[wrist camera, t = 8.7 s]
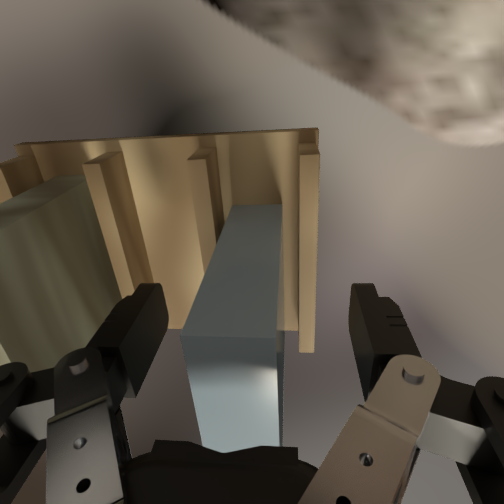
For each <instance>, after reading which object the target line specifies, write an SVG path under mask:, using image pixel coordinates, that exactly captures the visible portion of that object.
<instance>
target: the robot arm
mask: <svg viewBox="0 0 504 504" xmlns="http://www.w3.org/2000/svg"><path fill="white" fill-rule="evenodd" d="M168 324H169V314H168V309H167V305H166V300H165V296H164V292H163V287H162V285H161V284H160V283H140V284H139V285H138V287H137V288H136V290H135V291H134V293H133V294H132V295H127V296H126V297H125V298H123V299H122V300H120V301H119V302H118V303H117V304H116V305H115V306H114V308H113V309H112V310H111V312H110V314H109V315H108V316H107V317H106V319H105V322H103V323H102V324H101V326H100V327H99V329H98V330H97V331H96V333H95V334H94V336H93V337H92V338H91V340H90V341H89V343H88V344H87V345H86V347H85V348H80V349H76V350H74V351H72V352H70V353H68V354H66V355H65V356H64V357H62V358H61V359H60V360H59V361H58V363H57V364H56V366H55V367H54V368H49V369H45V370H40V371H36V372H31V373H30V371H29V369H28V367H27V365H26V364H24V363H22V362H11V363H7V364H4V365H1V366H0V429H1V431H2V432H3V436H2V437H1V438H0V504H11V503H12V501H13V499H14V498H15V496H16V495H17V493H18V492H19V490H20V489H21V487H22V485H23V484H24V482H25V481H26V479H27V478H28V476H29V475H30V473H31V471H32V470H33V468H34V467H35V465H36V463H37V462H38V460H39V459H40V457H41V456H42V454H43V453H44V451H45V449H46V448H47V449H46V453H47V454H46V455H47V457H46V504H401V502H402V499H403V497H404V494H405V491H406V488H407V486H408V483H409V480H410V478H411V475H412V472H413V470H414V467H415V465H416V462H417V459H418V457H419V454H420V451H421V449H423V450H426V451H429V452H431V453H434V454H437V455H440V456H443V457H446V458H448V459H451V460H454V461H455V462H456V464H457V466H458V469H459V471H460V473H461V476H462V478H463V480H464V483H465V485H466V487H467V490H468V492H469V495H470V497H471V499H472V502H473V504H504V378H500V377H493V376H492V377H484V378H482V379H480V380H479V381H478V382H477V383H476V385H475V386H472V385H468V384H464V383H460V382H457V381H453V380H450V379H447V378H445V377H443V376H441V375H440V374H439V372H438V370H437V369H436V368H435V367H434V366H433V365H432V364H431V363H430V362H428V361H426V360H425V359H422V357H421V355H420V352H419V350H418V348H417V346H416V343H415V341H414V339H413V337H412V335H411V332H410V330H409V328H408V327H407V323H406V321H405V319H404V318H403V314H402V312H401V310H400V308H399V306H398V305H397V304H396V303H395V302H394V301H393V300H392V299H390V298H389V297H378V294H377V291H376V288H375V286H374V284H373V283H362V284H360V283H359V284H357V283H354V284H352V286H351V296H350V307H349V332H350V337H351V341H352V346H353V351H354V355H355V360H356V364H357V369H358V373H359V378H360V382H361V387H362V391H363V396H364V400H365V404H364V405H363V406H362V405H358V406H357V407H356V408H355V409H354V411H353V412H352V414H351V416H350V417H349V419H348V421H347V422H346V424H345V426H344V427H343V429H342V431H341V432H340V434H339V436H338V437H337V439H336V441H335V442H334V444H333V446H332V448H331V449H330V451H329V452H328V454H327V456H326V457H325V459H324V461H323V462H322V464H321V466H320V467H319V469H318V468H316V467H315V466H313V465H311V464H309V463H306V462H304V461H301V460H298V448H297V447H280V446H262V445H261V446H257V447H252V448H247V449H242V450H237V451H232V452H227V453H222V452H218V451H215V450H212V449H209V448H206V447H204V446H200V445H198V444H195V443H192V442H188V441H169V440H155V442H154V445H153V448H152V451H151V452H149V453H145V454H143V455H139V456H137V457H135V458H133V459H132V455H131V451H130V447H129V442H128V438H127V433H126V429H125V424H124V419H123V414H122V410H121V407H120V404H121V401H122V400H123V397H127V398H136V396H137V394H138V392H139V390H140V388H141V385H142V383H143V381H144V379H145V377H146V375H147V372H148V370H149V368H150V366H151V364H152V361H153V359H154V357H155V355H156V353H157V351H158V348H159V346H160V344H161V342H162V339H163V337H164V335H165V333H166V331H167V328H168Z"/></svg>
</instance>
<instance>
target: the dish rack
mask: <svg viewBox="0 0 504 504" xmlns="http://www.w3.org/2000/svg"><path fill="white" fill-rule="evenodd" d="M318 139H319V129H318V128H301V129H283V130H282V129H281V130H261V131H242V132H222V133H203V134H183V135H164V136H144V137H123V138H104V139H85V140H67V141H45V142H25V143H20V144H17V145H14V146H15V149H16V151H17V154H18V157H16V158H13V159H10V160H7V161H4V162H2V163H0V366H1V365H4V364H7V363H11V362H22V363H24V364H26V365H27V367H28V369H29V371H30V373H31V372H36V371H40V370H45V369H49V368H54V367H55V366H56V364H57V363H58V361H59V360H60V359H61V358H62V357H64V356H65V355H66V354H68V353H70V352H72V351H74V350H76V349H80V348H85V347H86V345H87V344H88V343H89V341H90V340H91V338H92V337H93V336H94V334H95V333H96V331H97V330H98V329H99V327H100V326H101V324H102V323H103V322H105V319H106V317H107V316H108V315H109V314H110V312H111V310H112V309H113V308H114V306H115V305H116V304H117V303H118V302H119V301H120V300H122V299H123V298H125V297H126V296H127V295H132V294H133V293H134V291H135V290H136V288H137V287H138V285H139V284H140V283H160V284H161V285H162V287H163V292H164V296H165V300H166V305H167V309H168V314H169V324H168V328H170V329H183V327H184V324H185V322H186V319H187V317H188V314H189V312H190V309H191V307H192V304H193V302H194V299H195V297H196V294H197V292H198V289H199V287H200V284H201V282H202V279H203V277H204V274H205V272H206V269H207V267H208V264H209V262H210V259H211V257H212V254H213V252H214V249H215V247H216V244H217V242H218V239H219V237H220V234H221V232H222V229H223V227H224V224H225V222H226V219H227V217H228V214H229V212H230V209H231V207H232V205H268V204H283V263H284V323H285V330H293V331H299V352H308V353H309V352H310V353H314V337H315V336H314V334H315V302H316V270H317V238H318V237H317V236H318V204H319V170H320V153H319V150H318ZM168 328H167V329H168Z"/></svg>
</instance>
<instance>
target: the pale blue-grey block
mask: <svg viewBox="0 0 504 504" xmlns="http://www.w3.org/2000/svg"><path fill="white" fill-rule="evenodd" d="M180 338H181V343H182V348H183V353H184V357H185V362H186V367H187V372H188V377H189V382H190V386H191V391H192V396H193V401H194V406H195V410H196V415H197V420H198V425H199V430H200V434H201V439H202V444H203V446H204V447H206V448H209V449H212V450H215V451H218V452H222V453H227V452H232V451H237V450H242V449H247V448H252V447H257V446H261V445H262V446H280V447H283V400H284V399H283V398H284V344H285V323H284V263H283V204H268V205H232V207H231V209H230V212H229V214H228V217H227V219H226V222H225V224H224V227H223V229H222V232H221V234H220V237H219V239H218V242H217V244H216V247H215V249H214V252H213V254H212V257H211V259H210V262H209V264H208V267H207V269H206V272H205V274H204V277H203V279H202V282H201V284H200V287H199V289H198V292H197V294H196V297H195V299H194V302H193V304H192V307H191V309H190V312H189V314H188V317H187V319H186V322H185V324H184V327H183V330H182V332H181V334H180Z"/></svg>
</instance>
